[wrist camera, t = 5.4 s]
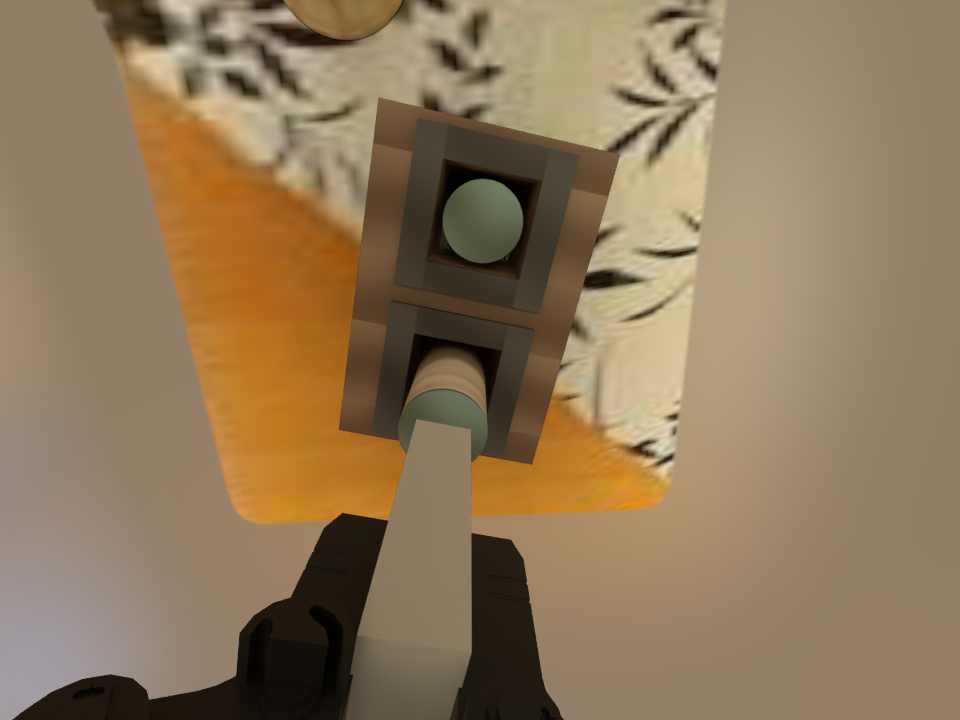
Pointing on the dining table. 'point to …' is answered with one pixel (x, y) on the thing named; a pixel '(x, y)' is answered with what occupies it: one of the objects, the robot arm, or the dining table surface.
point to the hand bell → (344, 16)
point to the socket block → (469, 269)
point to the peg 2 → (482, 221)
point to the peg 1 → (448, 393)
